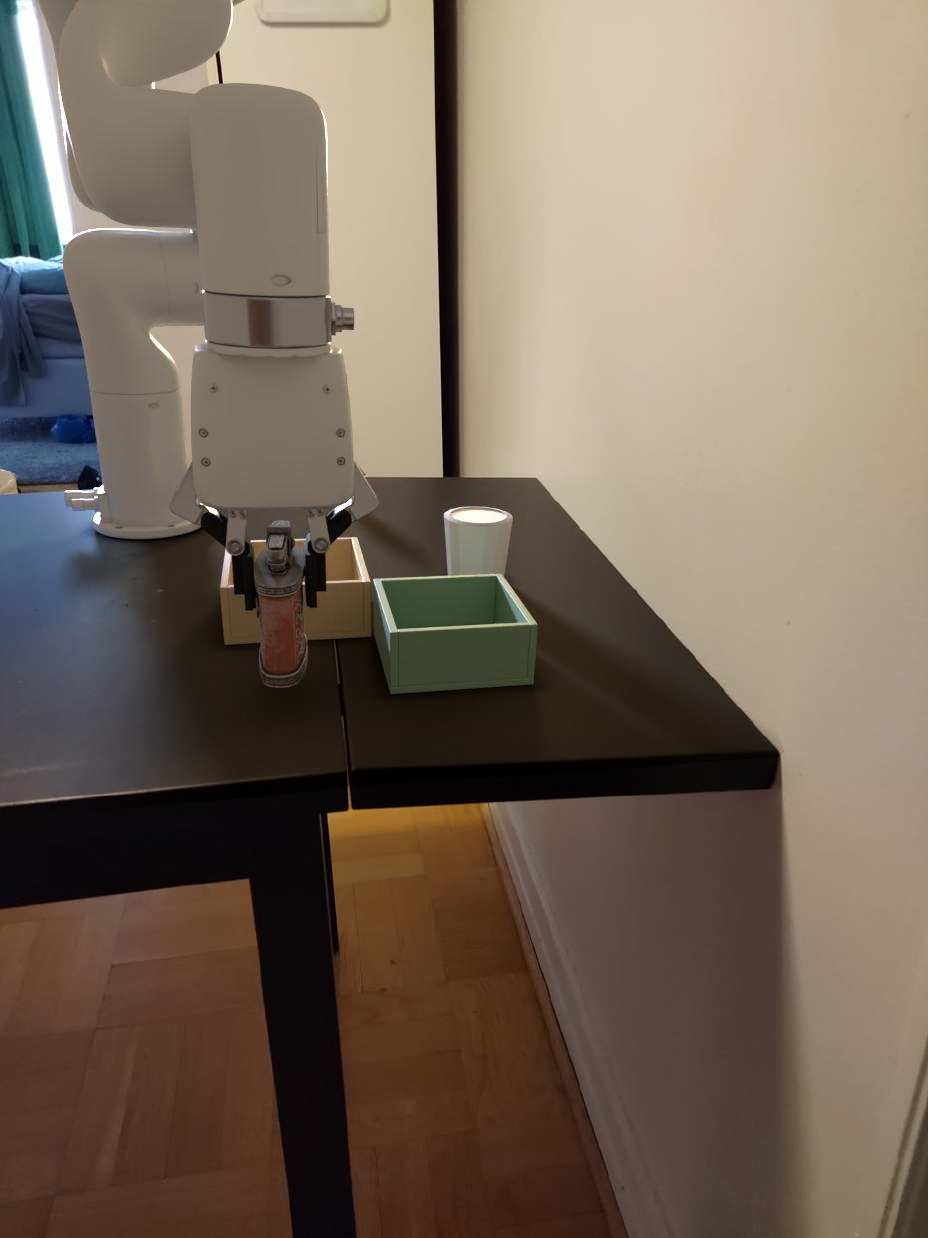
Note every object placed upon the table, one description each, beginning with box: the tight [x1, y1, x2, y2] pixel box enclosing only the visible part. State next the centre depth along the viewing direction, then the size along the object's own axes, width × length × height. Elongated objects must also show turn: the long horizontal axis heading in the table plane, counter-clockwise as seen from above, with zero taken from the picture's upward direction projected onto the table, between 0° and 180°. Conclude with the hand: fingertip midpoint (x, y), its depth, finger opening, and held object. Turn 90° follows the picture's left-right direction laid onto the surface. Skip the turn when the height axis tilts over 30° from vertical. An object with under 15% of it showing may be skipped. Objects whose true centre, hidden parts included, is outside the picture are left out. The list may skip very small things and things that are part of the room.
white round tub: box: [443, 506, 514, 577], centre depth 85 cm, size 7×7×7 cm
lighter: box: [254, 520, 309, 689], centre depth 59 cm, size 8×3×10 cm, turn 7°
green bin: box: [372, 574, 539, 695], centre depth 69 cm, size 11×11×5 cm
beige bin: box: [219, 536, 372, 646], centre depth 76 cm, size 12×12×5 cm
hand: (281, 599), depth 59 cm, fingers closed on lighter, 3 cm apart
